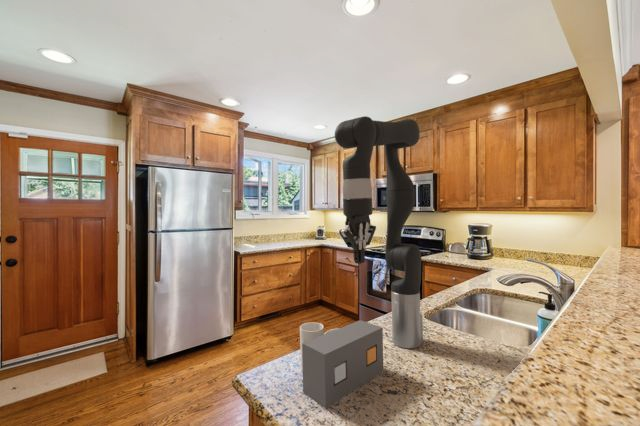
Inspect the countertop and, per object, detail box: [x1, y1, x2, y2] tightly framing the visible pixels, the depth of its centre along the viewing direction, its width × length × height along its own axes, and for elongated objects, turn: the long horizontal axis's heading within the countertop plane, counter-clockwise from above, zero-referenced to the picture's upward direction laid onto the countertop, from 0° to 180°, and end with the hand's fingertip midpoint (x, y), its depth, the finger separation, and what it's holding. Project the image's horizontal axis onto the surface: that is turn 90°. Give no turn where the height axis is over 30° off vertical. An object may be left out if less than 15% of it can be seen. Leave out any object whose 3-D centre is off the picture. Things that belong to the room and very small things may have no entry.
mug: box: [299, 321, 325, 373], centre depth 81 cm, size 10×7×12 cm, turn 24°
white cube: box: [333, 362, 346, 384], centre depth 68 cm, size 4×4×4 cm
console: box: [302, 319, 384, 409], centre depth 73 cm, size 22×8×12 cm, turn 132°
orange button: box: [366, 346, 376, 365], centre depth 76 cm, size 4×4×4 cm
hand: (359, 262), depth 74 cm, fingers closed
